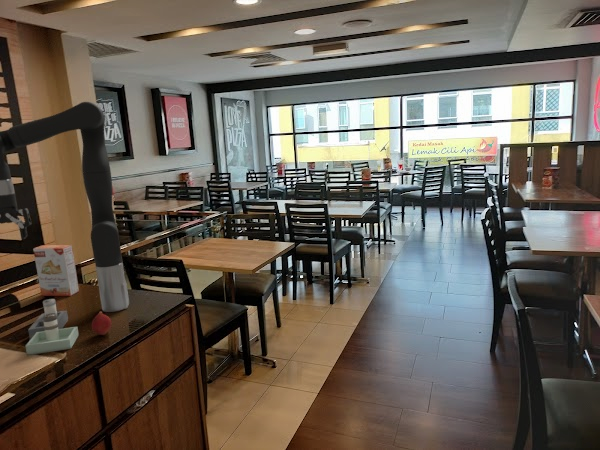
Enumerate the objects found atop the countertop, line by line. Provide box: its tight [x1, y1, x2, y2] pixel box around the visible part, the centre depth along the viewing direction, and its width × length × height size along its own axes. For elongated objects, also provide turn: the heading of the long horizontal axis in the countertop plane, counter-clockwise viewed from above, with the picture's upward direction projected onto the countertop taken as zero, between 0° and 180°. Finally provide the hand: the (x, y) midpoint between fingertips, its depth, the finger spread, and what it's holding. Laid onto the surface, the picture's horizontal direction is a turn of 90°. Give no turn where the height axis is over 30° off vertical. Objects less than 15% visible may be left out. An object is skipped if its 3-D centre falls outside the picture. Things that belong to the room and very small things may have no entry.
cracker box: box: [32, 244, 80, 297], centre depth 184 cm, size 14×6×21 cm, turn 81°
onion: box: [91, 311, 113, 336], centre depth 141 cm, size 6×6×8 cm
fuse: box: [42, 298, 58, 317], centre depth 152 cm, size 4×4×9 cm
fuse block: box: [28, 310, 69, 341], centre depth 149 cm, size 8×14×4 cm, turn 14°
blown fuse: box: [43, 313, 60, 342], centre depth 136 cm, size 4×4×9 cm
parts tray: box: [25, 326, 80, 356], centre depth 137 cm, size 12×10×3 cm
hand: (10, 240), depth 151 cm, fingers open, 8 cm apart
